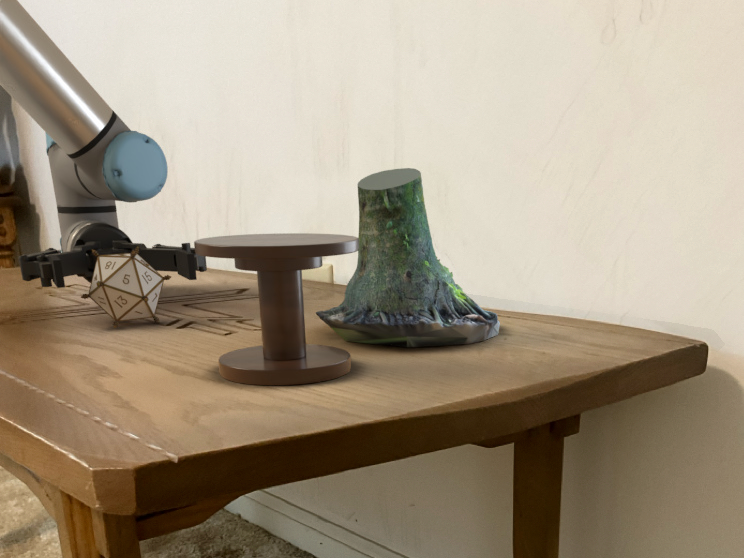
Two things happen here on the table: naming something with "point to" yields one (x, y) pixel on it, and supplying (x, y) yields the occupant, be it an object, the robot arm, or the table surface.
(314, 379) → the pedestal stand
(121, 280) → the game die
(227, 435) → the table surface
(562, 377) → the table surface
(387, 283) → the tree stump
